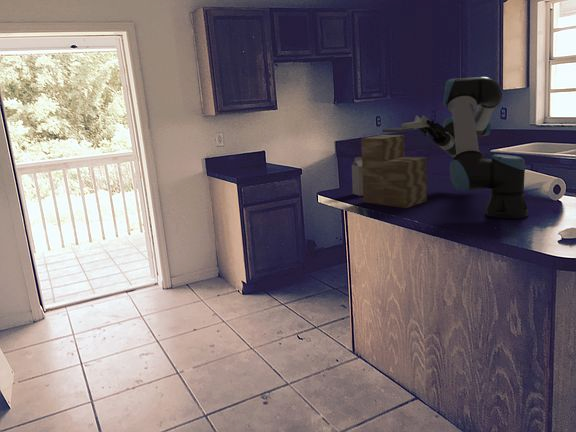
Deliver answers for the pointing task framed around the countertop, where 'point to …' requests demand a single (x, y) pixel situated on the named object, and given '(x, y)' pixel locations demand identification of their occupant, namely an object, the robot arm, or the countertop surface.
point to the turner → (407, 127)
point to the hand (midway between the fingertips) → (419, 118)
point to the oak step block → (392, 173)
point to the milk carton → (357, 176)
